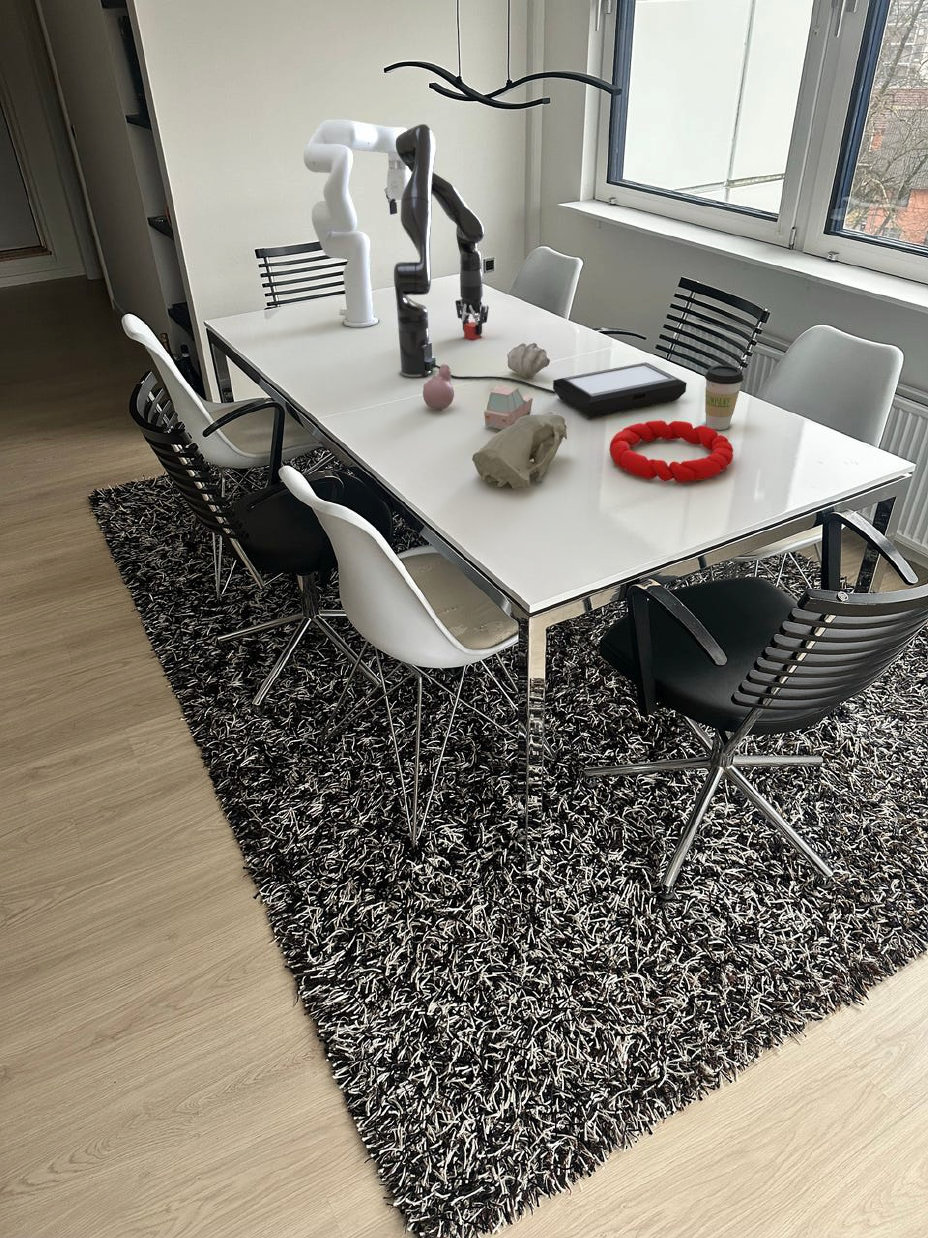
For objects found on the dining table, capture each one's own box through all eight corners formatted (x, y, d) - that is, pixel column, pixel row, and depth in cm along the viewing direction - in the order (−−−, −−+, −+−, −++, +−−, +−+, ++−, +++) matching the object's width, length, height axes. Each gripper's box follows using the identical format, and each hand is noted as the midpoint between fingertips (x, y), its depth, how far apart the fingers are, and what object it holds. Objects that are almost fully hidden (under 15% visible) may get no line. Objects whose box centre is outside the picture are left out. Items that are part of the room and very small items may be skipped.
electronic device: (589, 399, 240) (553, 377, 255) (587, 421, 244) (552, 398, 259) (687, 380, 251) (647, 359, 266) (684, 401, 254) (645, 380, 269)
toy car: (536, 415, 249) (537, 380, 243) (510, 434, 238) (510, 398, 232) (507, 409, 253) (507, 375, 247) (480, 428, 242) (479, 393, 236)
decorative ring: (590, 427, 228) (644, 464, 203) (694, 411, 235) (759, 444, 210) (589, 454, 232) (643, 493, 207) (692, 437, 239) (756, 473, 214)
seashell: (522, 385, 268) (523, 352, 263) (503, 370, 280) (503, 338, 274) (553, 380, 271) (554, 348, 266) (533, 365, 283) (533, 334, 277)
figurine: (441, 398, 262) (440, 358, 255) (460, 410, 254) (458, 368, 247) (414, 404, 258) (412, 363, 251) (432, 416, 250) (430, 374, 243)
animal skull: (489, 499, 227) (452, 459, 211) (541, 418, 229) (509, 372, 213) (540, 522, 217) (505, 481, 201) (594, 437, 219) (564, 390, 203)
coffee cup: (691, 421, 242) (698, 367, 233) (722, 415, 245) (730, 362, 236) (712, 434, 234) (719, 379, 226) (743, 428, 237) (752, 373, 228)
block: (472, 334, 312) (472, 321, 309) (480, 337, 309) (480, 323, 307) (464, 337, 309) (463, 324, 307) (472, 340, 307) (472, 326, 304)
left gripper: (376, 164, 331) (379, 214, 340) (407, 168, 320) (410, 219, 330) (391, 161, 335) (394, 211, 345) (422, 165, 325) (424, 216, 334)
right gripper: (448, 281, 301) (450, 331, 311) (478, 288, 293) (479, 339, 302) (464, 277, 305) (465, 326, 315) (494, 283, 297) (495, 334, 307)
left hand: (402, 215), depth 337 cm, fingers open, 9 cm apart
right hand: (472, 332), depth 309 cm, fingers open, 5 cm apart
